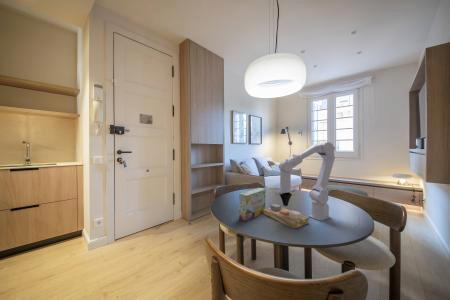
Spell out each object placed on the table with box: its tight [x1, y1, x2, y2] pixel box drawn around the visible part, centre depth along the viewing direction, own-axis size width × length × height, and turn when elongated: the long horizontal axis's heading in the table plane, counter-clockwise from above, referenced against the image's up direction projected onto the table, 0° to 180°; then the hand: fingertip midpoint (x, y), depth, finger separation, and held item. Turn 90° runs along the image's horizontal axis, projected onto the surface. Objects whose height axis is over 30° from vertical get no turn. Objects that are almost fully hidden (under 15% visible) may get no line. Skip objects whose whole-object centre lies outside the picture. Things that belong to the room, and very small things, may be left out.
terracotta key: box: [279, 208, 290, 216], centre depth 102 cm, size 4×4×4 cm
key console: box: [263, 206, 310, 229], centre depth 102 cm, size 12×22×3 cm, turn 30°
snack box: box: [238, 187, 267, 222], centre depth 106 cm, size 21×6×15 cm, turn 137°
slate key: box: [270, 203, 282, 212], centre depth 108 cm, size 4×4×4 cm
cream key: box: [289, 210, 302, 220], centre depth 95 cm, size 4×4×4 cm
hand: (285, 205), depth 101 cm, fingers closed
